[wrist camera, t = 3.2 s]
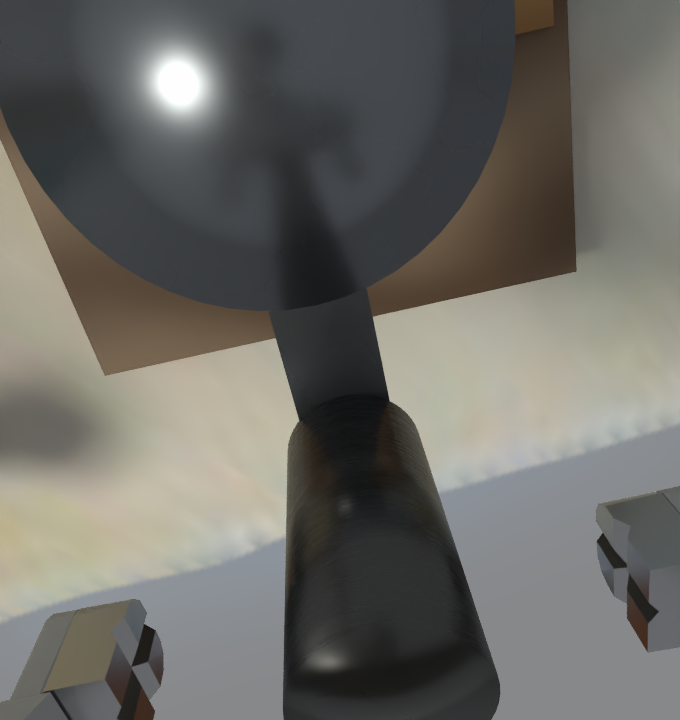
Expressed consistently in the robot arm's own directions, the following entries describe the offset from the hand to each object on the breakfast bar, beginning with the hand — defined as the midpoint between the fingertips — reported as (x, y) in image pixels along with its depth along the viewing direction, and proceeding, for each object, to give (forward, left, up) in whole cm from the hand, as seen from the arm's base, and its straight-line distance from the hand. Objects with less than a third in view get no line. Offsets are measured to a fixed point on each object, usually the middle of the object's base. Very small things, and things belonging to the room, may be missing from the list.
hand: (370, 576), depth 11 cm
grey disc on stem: (-5, 0, -6) cm, 8 cm away
